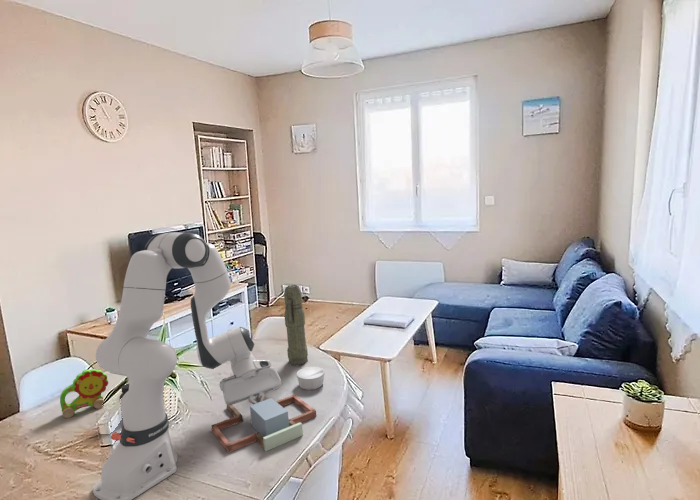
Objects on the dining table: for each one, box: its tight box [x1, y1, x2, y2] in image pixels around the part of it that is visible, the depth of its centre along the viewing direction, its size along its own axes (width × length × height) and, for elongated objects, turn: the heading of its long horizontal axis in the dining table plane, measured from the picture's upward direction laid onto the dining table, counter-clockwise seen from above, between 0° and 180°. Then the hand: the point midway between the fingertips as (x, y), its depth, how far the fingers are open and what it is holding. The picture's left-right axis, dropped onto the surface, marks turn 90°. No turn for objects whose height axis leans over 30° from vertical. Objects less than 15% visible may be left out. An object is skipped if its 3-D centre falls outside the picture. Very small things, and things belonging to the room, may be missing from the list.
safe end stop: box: [262, 422, 304, 452], centre depth 135 cm, size 1×13×4 cm, turn 125°
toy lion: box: [59, 368, 109, 419], centre depth 162 cm, size 16×5×15 cm, turn 126°
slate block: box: [249, 397, 290, 437], centre depth 143 cm, size 12×8×7 cm, turn 36°
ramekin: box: [296, 366, 325, 391], centre depth 172 cm, size 11×11×5 cm
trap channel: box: [211, 394, 317, 454], centre depth 148 cm, size 32×31×2 cm
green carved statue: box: [283, 284, 309, 366], centre depth 193 cm, size 9×12×35 cm
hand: (260, 407), depth 148 cm, fingers closed
